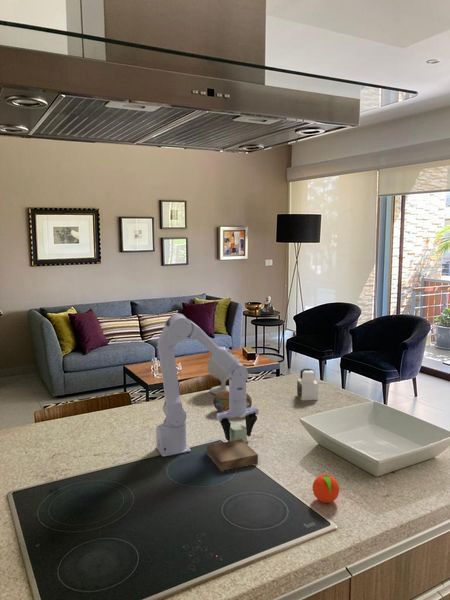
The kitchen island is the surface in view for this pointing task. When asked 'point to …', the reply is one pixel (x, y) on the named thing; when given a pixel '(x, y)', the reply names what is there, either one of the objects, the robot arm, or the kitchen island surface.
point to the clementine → (325, 488)
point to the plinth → (232, 454)
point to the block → (238, 433)
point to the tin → (227, 401)
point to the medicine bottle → (307, 385)
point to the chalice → (218, 376)
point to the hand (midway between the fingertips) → (238, 437)
